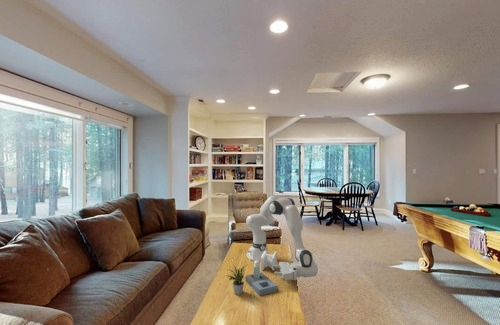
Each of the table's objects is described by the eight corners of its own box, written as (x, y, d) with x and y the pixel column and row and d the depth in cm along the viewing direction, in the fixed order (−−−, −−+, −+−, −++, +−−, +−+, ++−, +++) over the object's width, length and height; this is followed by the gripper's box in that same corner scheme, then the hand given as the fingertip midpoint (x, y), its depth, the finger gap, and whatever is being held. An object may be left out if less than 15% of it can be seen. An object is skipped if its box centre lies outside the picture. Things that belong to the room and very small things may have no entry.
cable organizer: (274, 272, 182) (274, 257, 182) (260, 271, 185) (260, 256, 185) (276, 264, 196) (277, 250, 196) (264, 263, 199) (264, 249, 199)
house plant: (235, 284, 164) (235, 260, 165) (253, 289, 158) (253, 264, 158) (223, 294, 152) (223, 268, 152) (242, 299, 145) (242, 272, 146)
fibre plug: (253, 280, 170) (253, 260, 170) (259, 280, 170) (259, 260, 170) (253, 283, 166) (253, 262, 166) (259, 283, 166) (259, 262, 166)
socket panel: (245, 280, 169) (245, 275, 169) (261, 277, 175) (261, 272, 175) (259, 295, 150) (259, 289, 150) (277, 291, 156) (277, 285, 156)
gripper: (291, 259, 178) (272, 259, 178) (296, 271, 158) (275, 271, 158) (291, 268, 178) (272, 268, 178) (296, 281, 158) (275, 281, 158)
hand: (274, 270), depth 168 cm, fingers open, 8 cm apart
